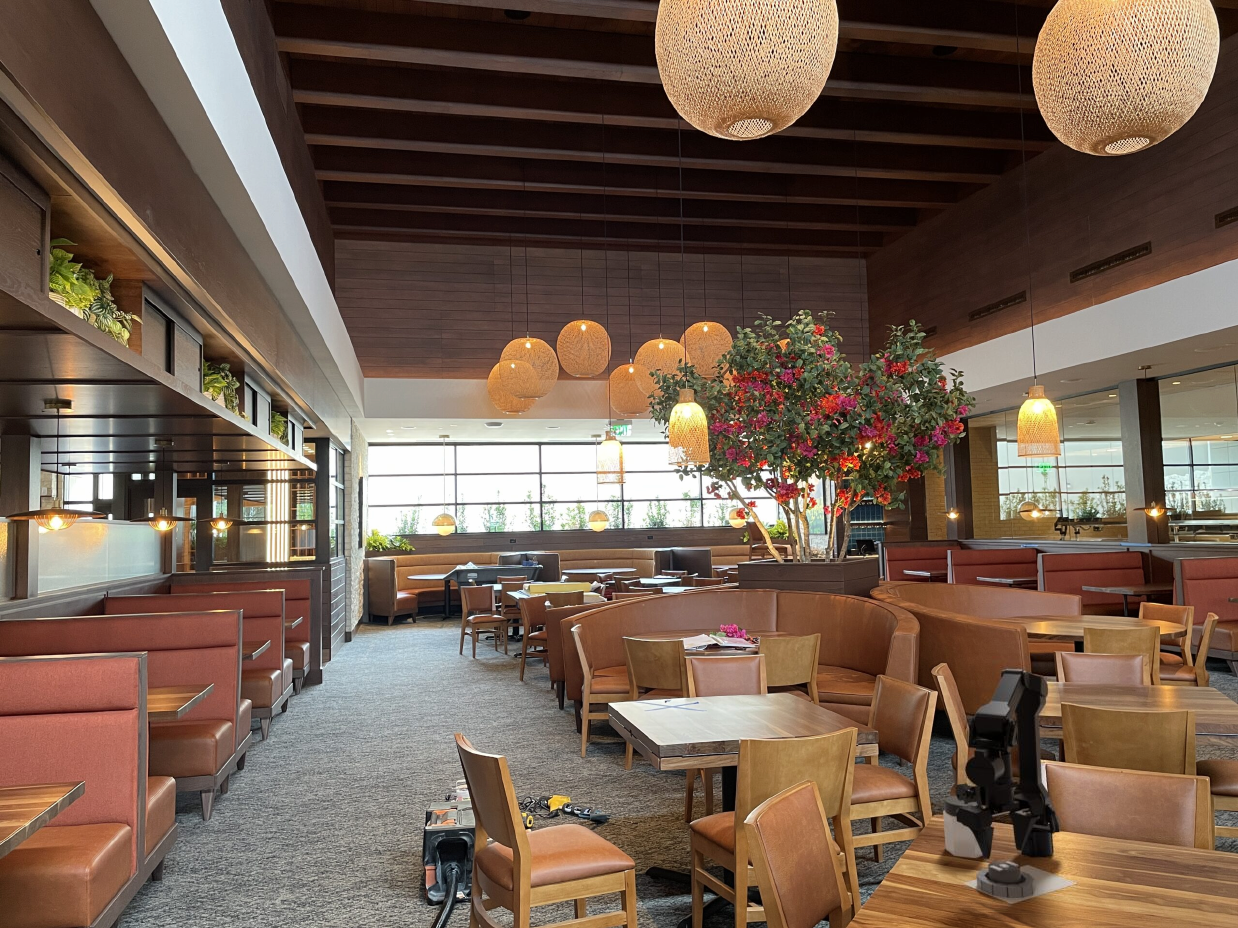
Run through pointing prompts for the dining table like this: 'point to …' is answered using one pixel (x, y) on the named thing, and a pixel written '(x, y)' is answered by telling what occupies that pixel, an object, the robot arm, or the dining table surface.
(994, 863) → the cap
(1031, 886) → the plate
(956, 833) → the jar
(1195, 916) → the dining table surface
